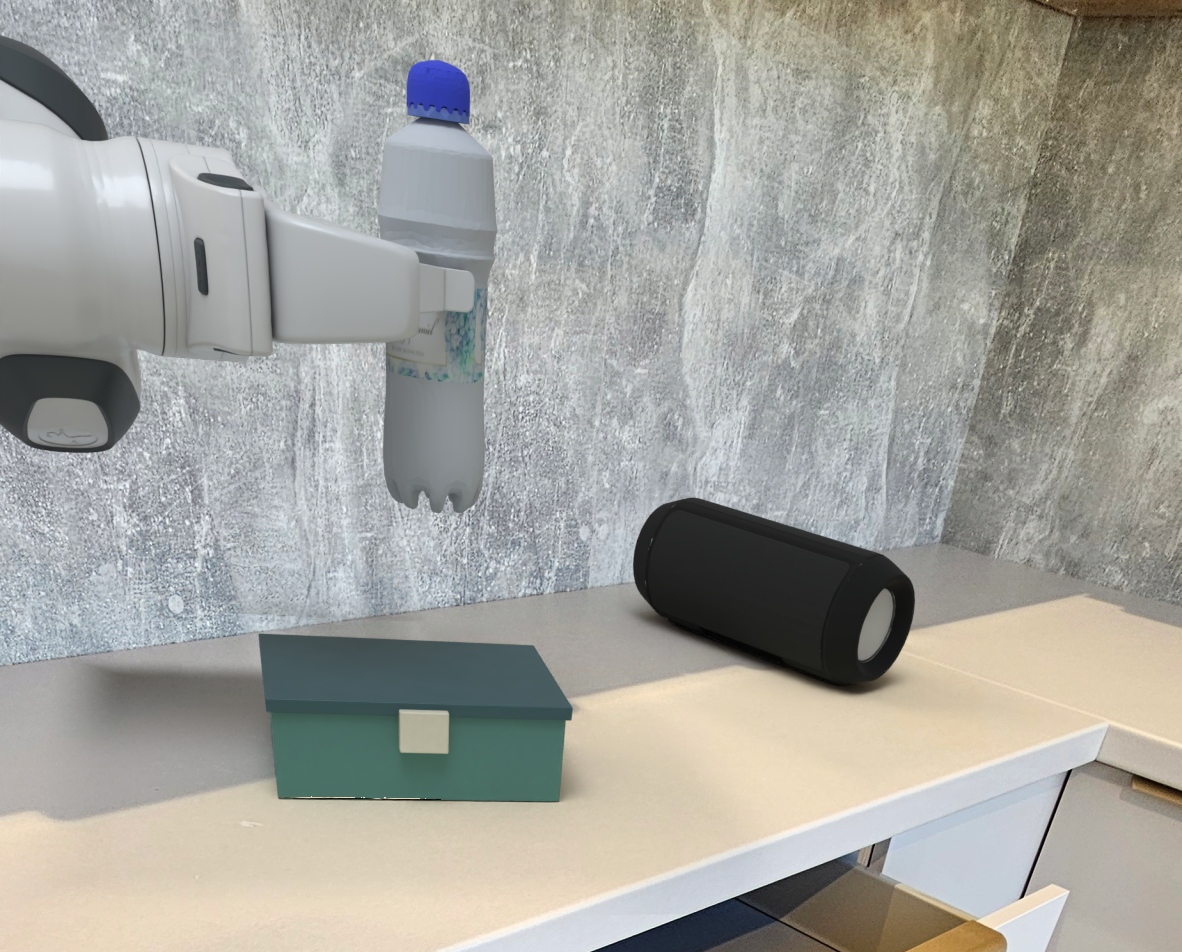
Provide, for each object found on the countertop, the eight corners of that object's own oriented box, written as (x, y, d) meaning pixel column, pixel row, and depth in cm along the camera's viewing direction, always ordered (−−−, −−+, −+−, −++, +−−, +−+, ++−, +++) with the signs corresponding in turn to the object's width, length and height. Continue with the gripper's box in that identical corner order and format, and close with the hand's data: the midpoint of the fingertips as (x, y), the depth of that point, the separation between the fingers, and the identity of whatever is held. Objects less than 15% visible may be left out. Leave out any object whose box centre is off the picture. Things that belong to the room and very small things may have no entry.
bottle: (357, 498, 75) (348, 45, 61) (426, 489, 79) (432, 63, 66) (440, 522, 72) (449, 56, 59) (506, 511, 77) (529, 75, 63)
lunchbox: (273, 803, 73) (265, 701, 69) (265, 725, 83) (258, 630, 79) (566, 806, 78) (574, 710, 73) (526, 731, 87) (532, 642, 83)
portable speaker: (901, 685, 105) (935, 556, 98) (836, 702, 100) (866, 567, 93) (688, 607, 117) (705, 487, 110) (619, 618, 112) (632, 494, 105)
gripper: (181, 307, 73) (400, 327, 77) (246, 360, 59) (506, 381, 64) (167, 166, 68) (400, 197, 73) (234, 190, 55) (513, 226, 60)
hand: (451, 283), depth 69 cm, fingers closed on bottle, 6 cm apart
